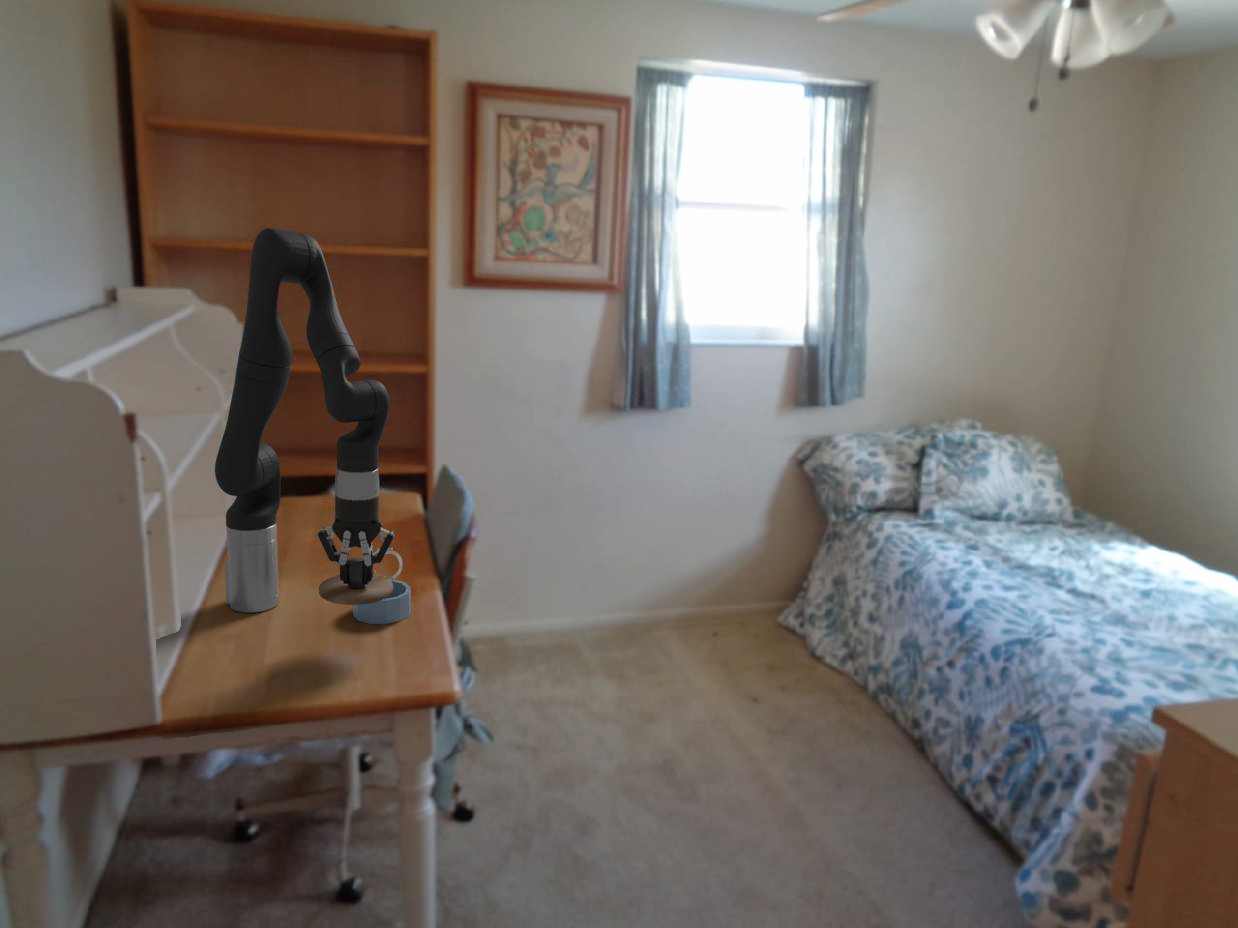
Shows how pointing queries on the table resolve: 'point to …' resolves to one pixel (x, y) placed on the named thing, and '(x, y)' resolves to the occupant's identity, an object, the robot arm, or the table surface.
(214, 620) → the table surface
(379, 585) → the lid
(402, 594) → the bowl
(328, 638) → the table surface
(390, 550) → the ring
